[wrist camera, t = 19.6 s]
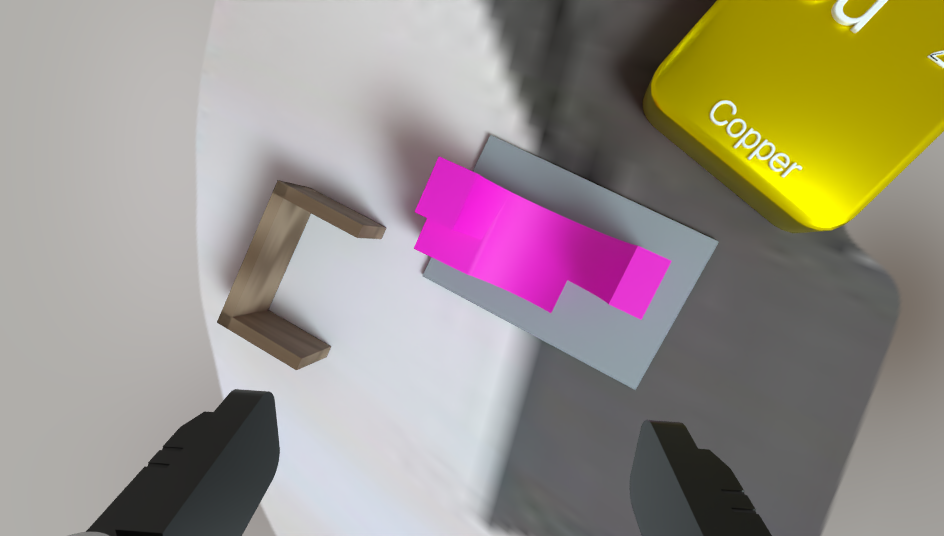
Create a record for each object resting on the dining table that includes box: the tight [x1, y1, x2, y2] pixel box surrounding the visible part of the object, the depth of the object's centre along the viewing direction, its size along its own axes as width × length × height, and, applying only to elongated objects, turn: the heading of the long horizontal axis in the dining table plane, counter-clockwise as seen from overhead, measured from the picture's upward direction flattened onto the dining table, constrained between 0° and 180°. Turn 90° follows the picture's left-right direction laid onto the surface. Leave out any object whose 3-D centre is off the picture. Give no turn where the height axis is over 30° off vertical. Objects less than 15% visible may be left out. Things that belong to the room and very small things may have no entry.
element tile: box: [643, 0, 944, 233], centre depth 31 cm, size 15×15×5 cm
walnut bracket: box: [217, 180, 386, 370], centre depth 38 cm, size 12×8×4 cm, turn 153°
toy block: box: [414, 157, 672, 320], centre depth 33 cm, size 15×6×8 cm, turn 65°
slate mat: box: [423, 135, 718, 390], centre depth 36 cm, size 12×18×1 cm, turn 63°
